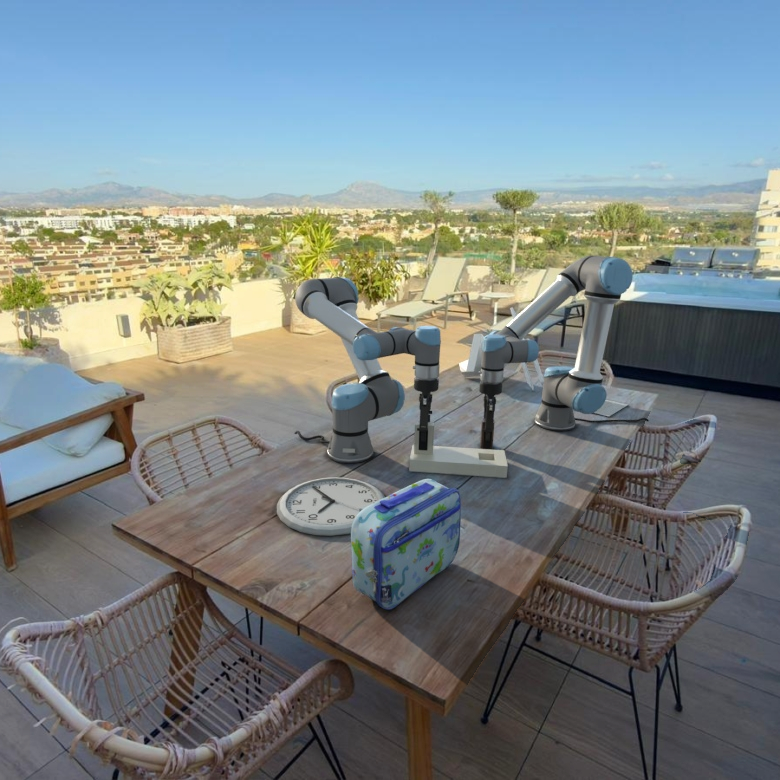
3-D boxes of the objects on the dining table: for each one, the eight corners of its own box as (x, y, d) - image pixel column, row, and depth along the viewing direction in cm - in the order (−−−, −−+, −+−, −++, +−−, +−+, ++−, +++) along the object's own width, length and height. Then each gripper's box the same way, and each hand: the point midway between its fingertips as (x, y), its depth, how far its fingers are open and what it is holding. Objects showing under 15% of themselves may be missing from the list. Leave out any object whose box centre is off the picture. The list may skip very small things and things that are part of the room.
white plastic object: (480, 419, 265) (459, 396, 241) (461, 346, 287) (441, 319, 263) (551, 395, 253) (536, 368, 228) (526, 321, 275) (510, 290, 251)
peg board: (503, 461, 172) (506, 421, 167) (506, 478, 160) (510, 435, 156) (412, 455, 175) (413, 416, 171) (409, 471, 164) (410, 429, 159)
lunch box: (380, 623, 100) (381, 528, 94) (344, 596, 108) (343, 505, 101) (464, 565, 118) (470, 482, 112) (428, 545, 125) (432, 466, 119)
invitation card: (608, 416, 214) (573, 407, 224) (608, 416, 214) (573, 408, 224) (628, 404, 229) (594, 396, 238) (628, 405, 229) (594, 397, 238)
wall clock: (392, 527, 129) (268, 531, 127) (391, 533, 130) (269, 537, 127) (383, 473, 158) (282, 475, 155) (383, 478, 158) (282, 480, 156)
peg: (491, 445, 184) (493, 418, 181) (492, 449, 181) (494, 422, 178) (480, 444, 185) (482, 417, 182) (480, 448, 181) (482, 421, 178)
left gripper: (417, 366, 172) (415, 426, 179) (411, 388, 149) (409, 456, 155) (439, 367, 171) (437, 427, 178) (437, 389, 148) (434, 458, 154)
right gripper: (478, 373, 184) (474, 435, 191) (481, 388, 168) (476, 454, 175) (500, 374, 183) (495, 436, 190) (504, 389, 167) (499, 456, 174)
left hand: (424, 441), depth 166 cm, fingers open, 13 cm apart
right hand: (486, 445), depth 182 cm, fingers closed on peg, 4 cm apart
